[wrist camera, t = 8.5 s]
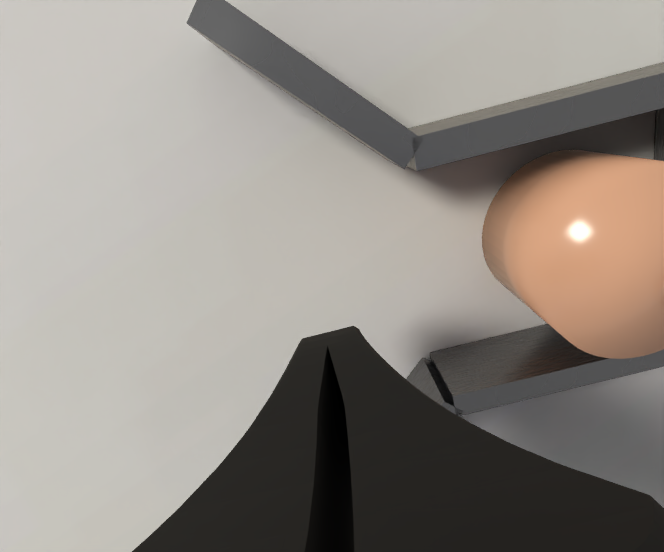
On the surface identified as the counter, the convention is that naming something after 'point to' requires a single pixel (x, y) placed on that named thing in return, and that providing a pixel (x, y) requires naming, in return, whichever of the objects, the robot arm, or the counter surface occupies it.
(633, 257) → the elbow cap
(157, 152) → the counter surface
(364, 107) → the gray zigzag divider
